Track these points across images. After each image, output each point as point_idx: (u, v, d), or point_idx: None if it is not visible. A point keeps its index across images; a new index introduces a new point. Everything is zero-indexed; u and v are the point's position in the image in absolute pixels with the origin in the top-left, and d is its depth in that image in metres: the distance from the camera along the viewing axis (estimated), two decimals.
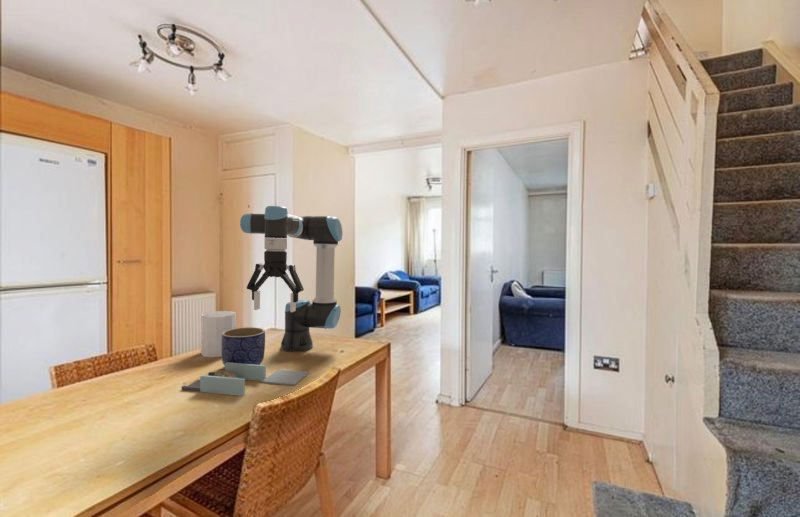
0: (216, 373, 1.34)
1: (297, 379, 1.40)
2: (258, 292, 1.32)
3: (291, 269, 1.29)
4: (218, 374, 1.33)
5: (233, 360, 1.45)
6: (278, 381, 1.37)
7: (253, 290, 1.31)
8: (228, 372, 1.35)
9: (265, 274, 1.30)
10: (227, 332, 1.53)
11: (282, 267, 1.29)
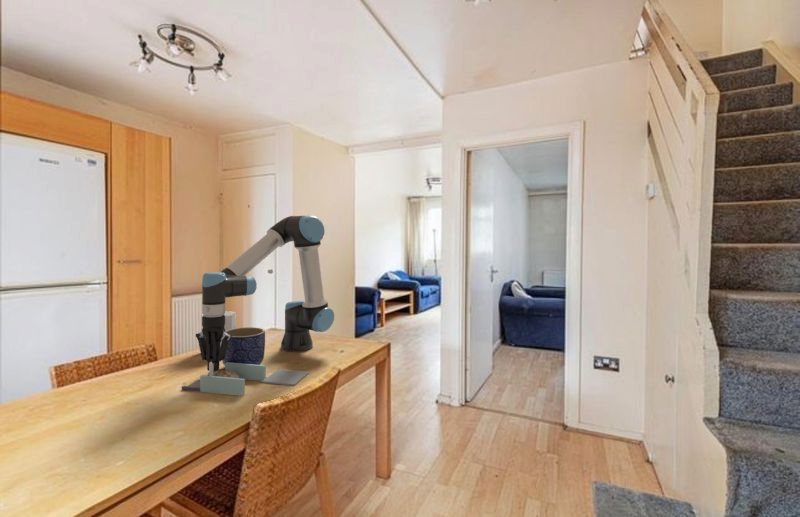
0: (218, 373, 1.34)
1: (297, 379, 1.40)
2: None
3: (225, 340, 1.32)
4: (220, 374, 1.33)
5: (233, 360, 1.45)
6: (278, 381, 1.37)
7: (208, 360, 1.34)
8: (230, 372, 1.35)
9: (207, 340, 1.33)
10: (227, 332, 1.53)
11: (219, 332, 1.33)
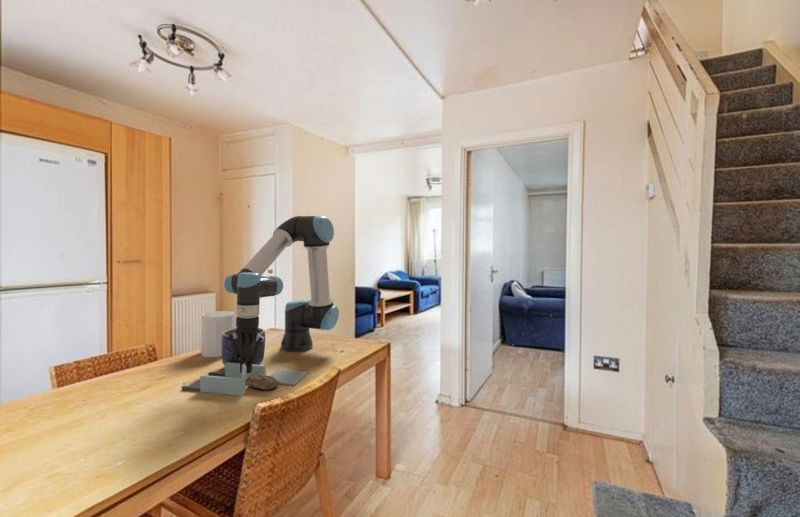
0: (253, 377, 1.30)
1: (297, 379, 1.40)
2: None
3: (259, 341, 1.30)
4: (257, 378, 1.30)
5: (233, 360, 1.45)
6: None
7: (241, 362, 1.31)
8: (262, 375, 1.34)
9: (241, 342, 1.31)
10: (227, 332, 1.53)
11: (253, 333, 1.30)
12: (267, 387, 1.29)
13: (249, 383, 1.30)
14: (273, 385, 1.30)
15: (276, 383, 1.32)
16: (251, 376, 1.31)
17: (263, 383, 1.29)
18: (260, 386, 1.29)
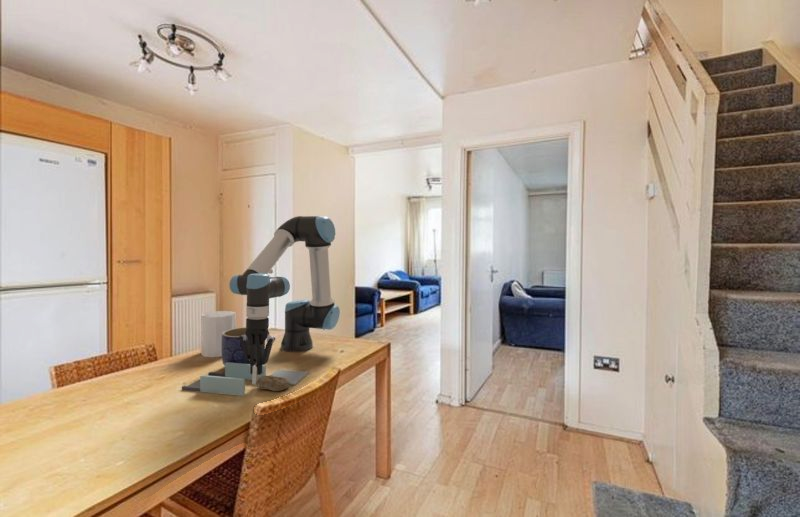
0: (263, 379, 1.30)
1: (297, 379, 1.40)
2: None
3: (269, 343, 1.30)
4: (268, 379, 1.30)
5: (233, 360, 1.45)
6: None
7: (252, 364, 1.31)
8: (272, 376, 1.33)
9: (251, 343, 1.30)
10: (227, 332, 1.53)
11: (263, 335, 1.30)
12: (279, 389, 1.29)
13: (260, 385, 1.30)
14: (284, 386, 1.30)
15: (287, 384, 1.31)
16: (261, 378, 1.30)
17: (275, 385, 1.28)
18: (271, 388, 1.29)
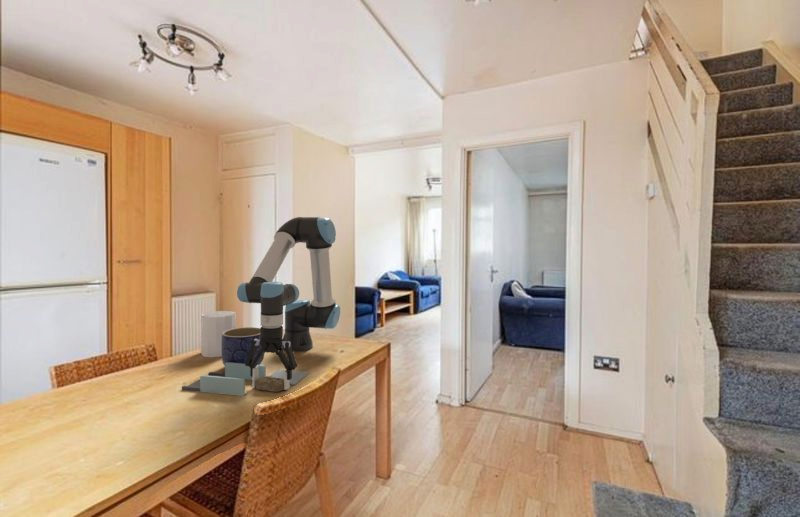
0: (261, 380, 1.29)
1: (297, 379, 1.40)
2: (256, 368, 1.33)
3: (287, 346, 1.29)
4: (266, 380, 1.29)
5: (233, 360, 1.45)
6: None
7: (252, 367, 1.31)
8: (270, 377, 1.33)
9: (262, 350, 1.30)
10: (227, 332, 1.53)
11: (278, 343, 1.30)
12: (277, 389, 1.28)
13: (258, 386, 1.29)
14: (283, 387, 1.30)
15: None
16: (259, 379, 1.30)
17: (273, 386, 1.28)
18: (270, 389, 1.29)
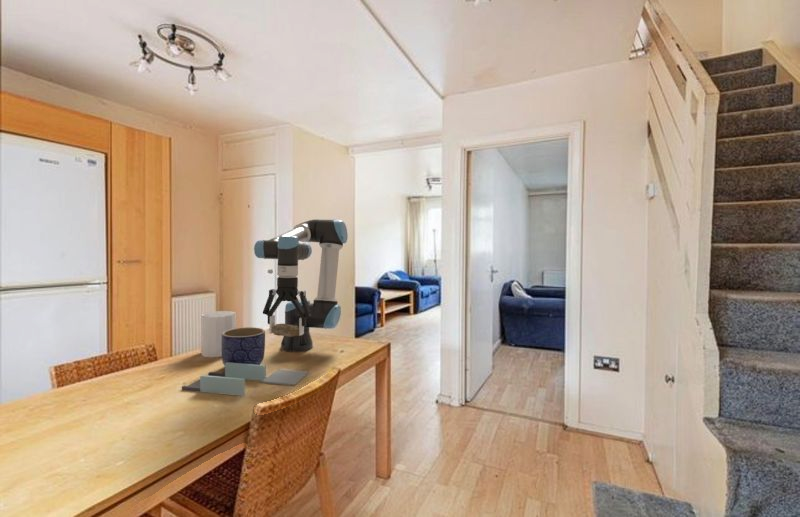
0: (278, 326, 1.40)
1: (297, 379, 1.40)
2: (273, 316, 1.43)
3: (302, 295, 1.39)
4: (282, 326, 1.40)
5: (233, 360, 1.45)
6: (278, 381, 1.37)
7: (269, 315, 1.41)
8: None
9: (278, 299, 1.40)
10: (227, 332, 1.53)
11: (294, 292, 1.40)
12: (292, 334, 1.38)
13: (275, 331, 1.39)
14: (298, 332, 1.40)
15: None
16: (276, 325, 1.40)
17: (289, 330, 1.38)
18: (286, 333, 1.39)
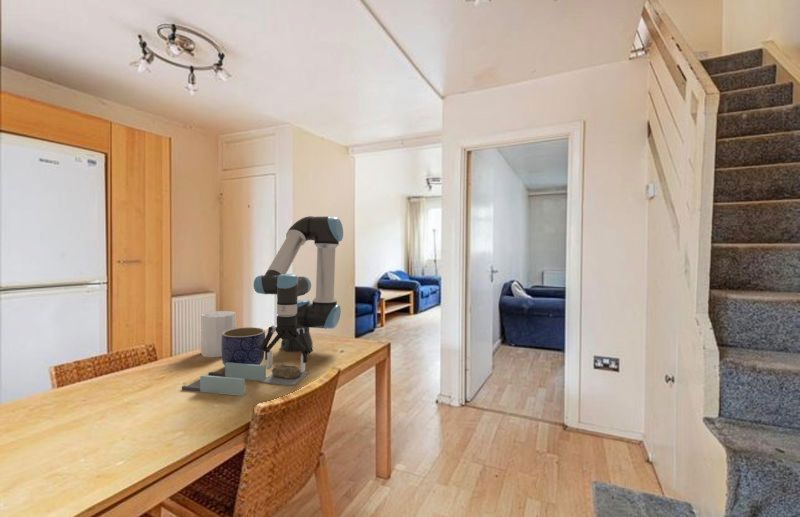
0: (277, 368, 1.40)
1: (297, 379, 1.40)
2: (271, 352, 1.44)
3: (301, 333, 1.40)
4: (281, 368, 1.40)
5: (233, 360, 1.45)
6: (278, 381, 1.37)
7: (266, 351, 1.42)
8: (285, 365, 1.44)
9: (277, 337, 1.41)
10: (227, 332, 1.53)
11: (293, 330, 1.40)
12: (292, 376, 1.39)
13: (274, 373, 1.40)
14: (297, 374, 1.41)
15: (299, 372, 1.42)
16: (276, 367, 1.41)
17: (288, 373, 1.39)
18: (285, 375, 1.39)
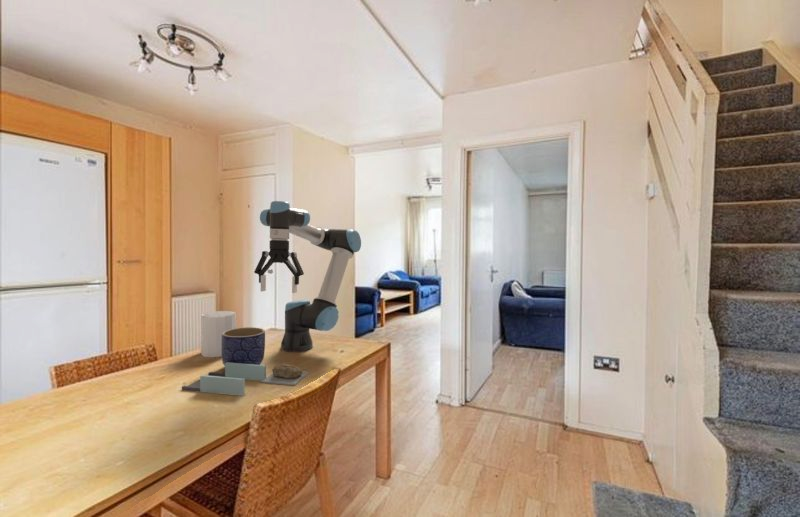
0: (278, 368, 1.41)
1: (297, 379, 1.40)
2: (264, 276, 1.52)
3: (293, 256, 1.49)
4: (281, 368, 1.41)
5: (233, 360, 1.45)
6: (278, 381, 1.37)
7: (260, 274, 1.51)
8: (286, 365, 1.44)
9: (270, 260, 1.50)
10: (227, 332, 1.53)
11: (285, 254, 1.49)
12: (292, 376, 1.39)
13: (275, 373, 1.41)
14: (297, 374, 1.41)
15: (299, 372, 1.42)
16: (276, 366, 1.41)
17: (288, 373, 1.39)
18: (285, 375, 1.40)
